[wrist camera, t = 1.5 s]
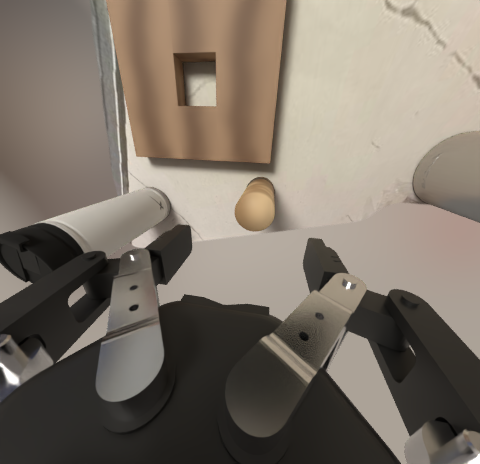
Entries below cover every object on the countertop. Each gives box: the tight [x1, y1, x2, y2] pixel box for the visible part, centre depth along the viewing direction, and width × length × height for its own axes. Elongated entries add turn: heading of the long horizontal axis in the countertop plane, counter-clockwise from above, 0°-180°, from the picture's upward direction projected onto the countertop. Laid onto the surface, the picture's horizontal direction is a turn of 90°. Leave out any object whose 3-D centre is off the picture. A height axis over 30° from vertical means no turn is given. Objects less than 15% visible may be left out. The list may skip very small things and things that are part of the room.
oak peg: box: [235, 177, 275, 231], centre depth 23 cm, size 4×4×12 cm
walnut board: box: [106, 0, 287, 163], centre depth 23 cm, size 20×18×2 cm
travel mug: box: [0, 187, 170, 283], centre depth 24 cm, size 6×7×20 cm
